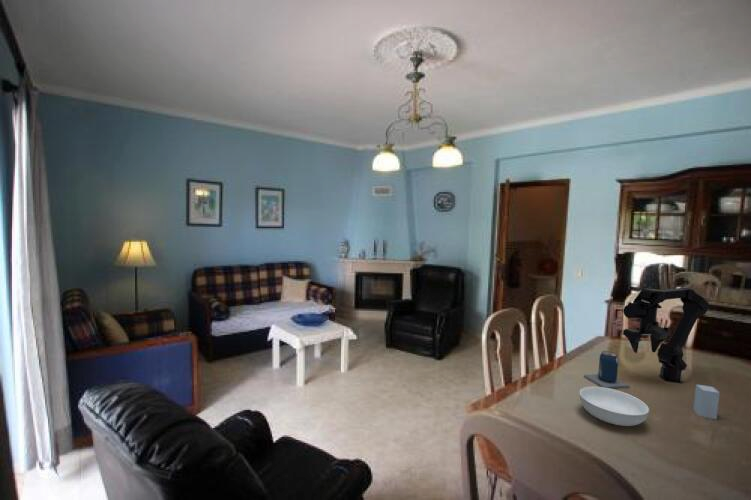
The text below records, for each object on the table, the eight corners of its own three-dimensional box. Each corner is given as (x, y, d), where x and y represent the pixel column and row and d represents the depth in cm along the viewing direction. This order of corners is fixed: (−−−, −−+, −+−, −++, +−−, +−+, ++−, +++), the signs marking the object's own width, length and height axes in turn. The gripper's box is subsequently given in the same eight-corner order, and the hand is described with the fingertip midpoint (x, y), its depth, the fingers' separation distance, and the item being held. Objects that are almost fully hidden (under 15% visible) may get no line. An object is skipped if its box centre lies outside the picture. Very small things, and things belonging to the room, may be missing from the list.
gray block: (693, 410, 142) (696, 384, 141) (709, 412, 140) (712, 387, 139) (699, 416, 137) (702, 390, 136) (716, 419, 135) (719, 392, 134)
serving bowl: (649, 442, 120) (651, 421, 119) (575, 421, 131) (577, 402, 130) (644, 414, 138) (646, 396, 137) (580, 398, 149) (581, 381, 148)
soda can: (619, 382, 162) (622, 355, 161) (610, 384, 159) (612, 357, 158) (604, 375, 168) (606, 349, 167) (594, 378, 165) (596, 351, 164)
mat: (607, 375, 171) (607, 373, 171) (629, 387, 159) (629, 385, 159) (583, 376, 169) (583, 374, 169) (604, 389, 157) (604, 386, 157)
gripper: (645, 323, 155) (641, 360, 156) (684, 322, 158) (680, 358, 159) (623, 316, 166) (620, 350, 167) (660, 315, 169) (656, 349, 170)
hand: (644, 352), depth 165 cm, fingers open, 9 cm apart
